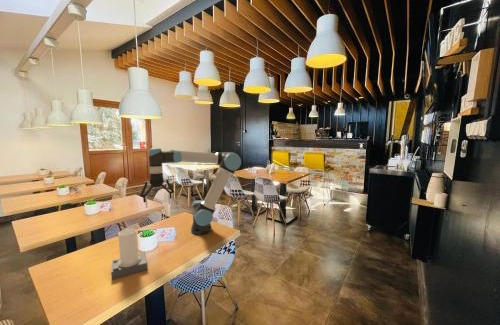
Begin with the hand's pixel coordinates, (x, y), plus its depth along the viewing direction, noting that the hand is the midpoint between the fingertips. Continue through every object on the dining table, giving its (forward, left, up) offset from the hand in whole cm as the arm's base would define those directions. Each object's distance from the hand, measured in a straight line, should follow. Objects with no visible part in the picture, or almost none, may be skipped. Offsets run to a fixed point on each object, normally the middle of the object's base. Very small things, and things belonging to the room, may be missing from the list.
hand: (158, 205), depth 140 cm
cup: (+18, +20, -22) cm, 35 cm away
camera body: (+18, +20, -27) cm, 38 cm away
